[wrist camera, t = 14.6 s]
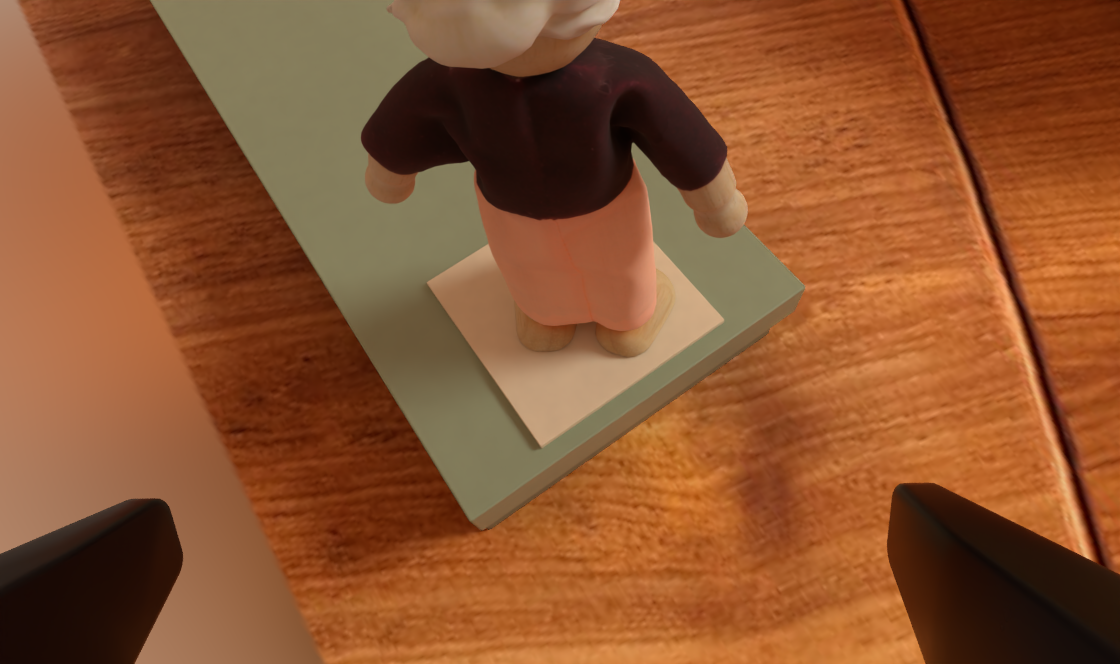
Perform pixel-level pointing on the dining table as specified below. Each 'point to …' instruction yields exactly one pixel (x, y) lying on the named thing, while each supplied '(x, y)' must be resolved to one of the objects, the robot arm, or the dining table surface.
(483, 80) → the grandmother figurine
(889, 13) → the dining table surface
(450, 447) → the olive green stone
